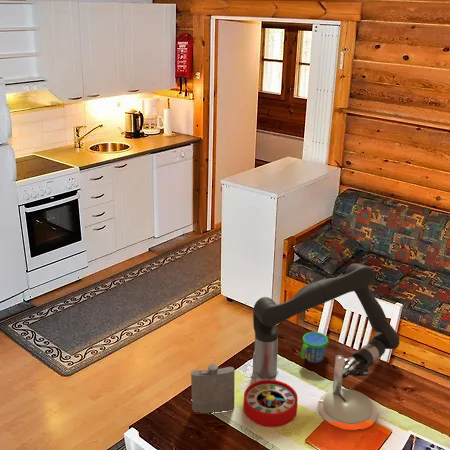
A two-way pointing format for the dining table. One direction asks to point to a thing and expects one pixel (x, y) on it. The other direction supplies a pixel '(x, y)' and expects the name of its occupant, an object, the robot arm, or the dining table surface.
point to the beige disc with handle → (346, 400)
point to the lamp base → (328, 418)
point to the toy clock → (270, 403)
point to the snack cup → (314, 346)
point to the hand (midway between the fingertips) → (341, 375)
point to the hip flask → (213, 389)
